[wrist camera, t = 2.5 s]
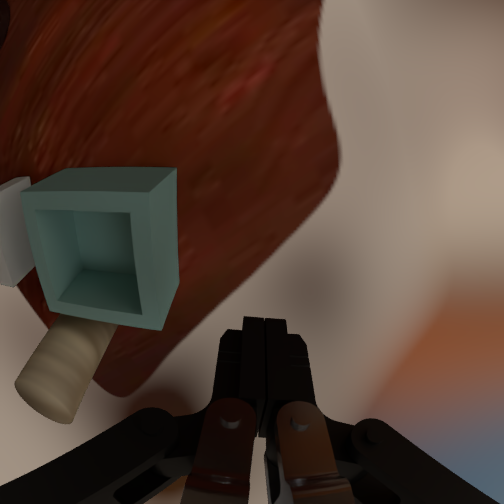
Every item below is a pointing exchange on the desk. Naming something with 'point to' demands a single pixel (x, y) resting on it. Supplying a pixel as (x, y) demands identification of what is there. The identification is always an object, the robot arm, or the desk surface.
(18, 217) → the grey flat slab
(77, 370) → the dowel
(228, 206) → the desk surface
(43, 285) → the grey-green open box
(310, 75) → the desk surface
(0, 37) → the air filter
